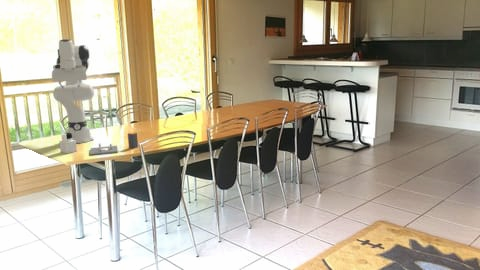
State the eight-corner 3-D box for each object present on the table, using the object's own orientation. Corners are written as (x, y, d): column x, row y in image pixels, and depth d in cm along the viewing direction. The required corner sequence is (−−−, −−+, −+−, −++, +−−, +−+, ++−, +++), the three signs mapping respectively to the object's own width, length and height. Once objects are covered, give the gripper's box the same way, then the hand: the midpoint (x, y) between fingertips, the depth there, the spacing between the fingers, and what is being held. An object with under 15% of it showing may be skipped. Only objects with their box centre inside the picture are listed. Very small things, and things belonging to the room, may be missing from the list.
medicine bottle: (71, 150, 271) (68, 131, 269) (77, 151, 267) (74, 132, 264) (60, 152, 266) (58, 133, 263) (66, 153, 261) (64, 134, 259)
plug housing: (128, 147, 271) (127, 133, 269) (133, 146, 275) (131, 132, 273) (133, 148, 269) (132, 133, 267) (138, 147, 273) (136, 132, 271)
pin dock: (90, 149, 270) (90, 143, 269) (116, 147, 275) (116, 141, 274) (90, 155, 255) (89, 149, 254) (117, 152, 260) (117, 146, 259)
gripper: (86, 65, 271) (88, 87, 272) (51, 66, 265) (53, 89, 266) (85, 64, 265) (88, 87, 266) (50, 66, 259) (52, 89, 260)
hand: (70, 88), depth 266 cm, fingers open, 8 cm apart
